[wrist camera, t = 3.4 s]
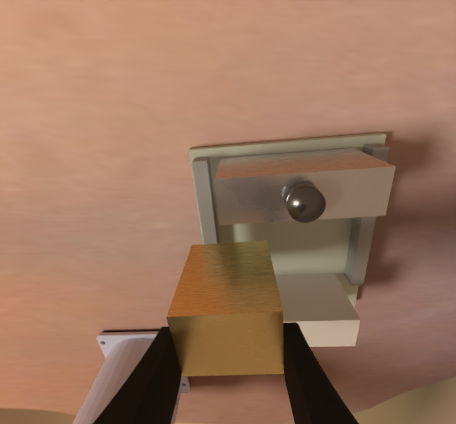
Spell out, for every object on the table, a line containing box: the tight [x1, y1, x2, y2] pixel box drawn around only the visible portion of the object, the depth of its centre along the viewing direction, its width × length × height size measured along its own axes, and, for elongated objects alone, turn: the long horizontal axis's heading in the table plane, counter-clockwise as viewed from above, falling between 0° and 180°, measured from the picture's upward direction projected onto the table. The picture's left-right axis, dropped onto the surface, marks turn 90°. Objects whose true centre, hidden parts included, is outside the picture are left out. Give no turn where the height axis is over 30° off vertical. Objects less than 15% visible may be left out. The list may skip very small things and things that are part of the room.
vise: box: [189, 133, 390, 347], centre depth 16 cm, size 14×12×5 cm
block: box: [167, 240, 284, 376], centre depth 12 cm, size 4×4×6 cm
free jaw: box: [214, 148, 396, 225], centre depth 13 cm, size 2×8×5 cm, turn 95°
